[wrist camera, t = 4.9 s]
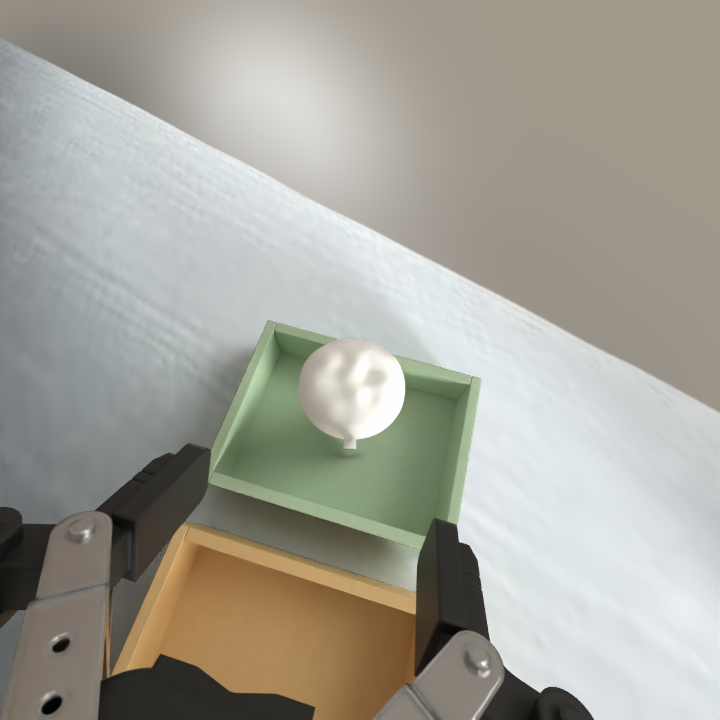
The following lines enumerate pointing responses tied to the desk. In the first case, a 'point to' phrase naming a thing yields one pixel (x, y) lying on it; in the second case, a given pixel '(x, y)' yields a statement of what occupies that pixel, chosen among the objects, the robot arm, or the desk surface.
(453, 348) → the desk surface
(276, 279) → the desk surface
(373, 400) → the milkshake
